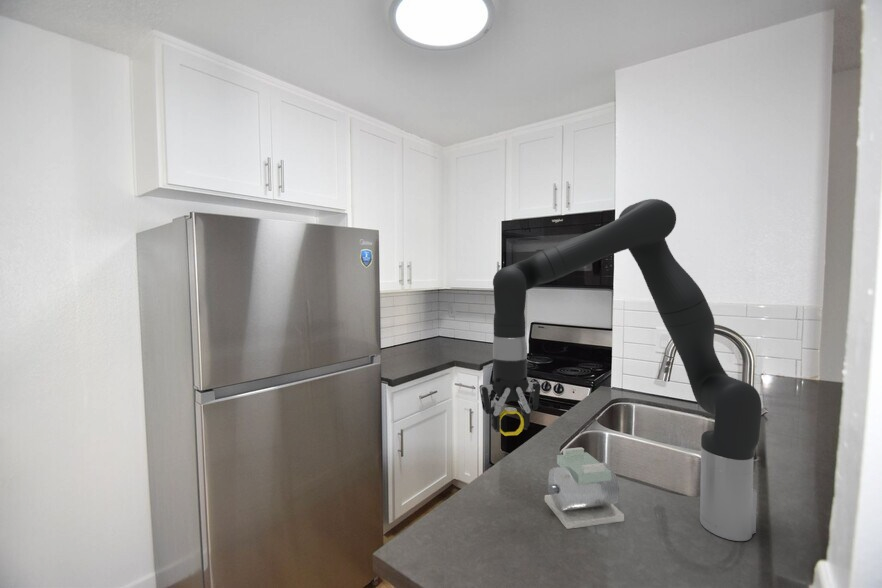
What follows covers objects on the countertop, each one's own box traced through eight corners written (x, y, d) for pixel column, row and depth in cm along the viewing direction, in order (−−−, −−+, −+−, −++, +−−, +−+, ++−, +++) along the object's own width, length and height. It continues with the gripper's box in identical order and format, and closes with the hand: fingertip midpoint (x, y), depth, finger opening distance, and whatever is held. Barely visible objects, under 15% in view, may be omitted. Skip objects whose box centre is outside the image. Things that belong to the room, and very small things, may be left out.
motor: (596, 494, 99) (596, 444, 99) (624, 521, 88) (624, 464, 88) (539, 501, 96) (539, 449, 96) (560, 529, 86) (560, 471, 85)
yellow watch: (520, 432, 90) (522, 407, 90) (524, 437, 87) (526, 411, 87) (495, 432, 90) (496, 406, 89) (498, 437, 87) (500, 410, 87)
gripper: (532, 351, 93) (533, 421, 93) (474, 354, 90) (475, 426, 91) (547, 357, 85) (547, 433, 86) (483, 360, 83) (484, 439, 83)
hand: (510, 429), depth 88 cm, fingers closed on yellow watch, 6 cm apart
